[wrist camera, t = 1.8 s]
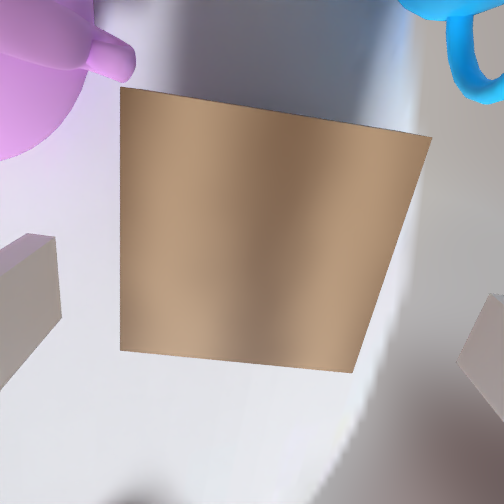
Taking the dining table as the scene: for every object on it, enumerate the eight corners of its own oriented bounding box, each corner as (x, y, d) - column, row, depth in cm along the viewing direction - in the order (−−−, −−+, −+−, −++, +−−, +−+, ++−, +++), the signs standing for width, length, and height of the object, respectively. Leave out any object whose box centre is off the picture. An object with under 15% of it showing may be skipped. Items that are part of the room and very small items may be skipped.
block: (137, 313, 19) (120, 350, 16) (143, 89, 14) (120, 86, 12) (336, 334, 20) (352, 373, 17) (397, 130, 15) (432, 137, 12)
